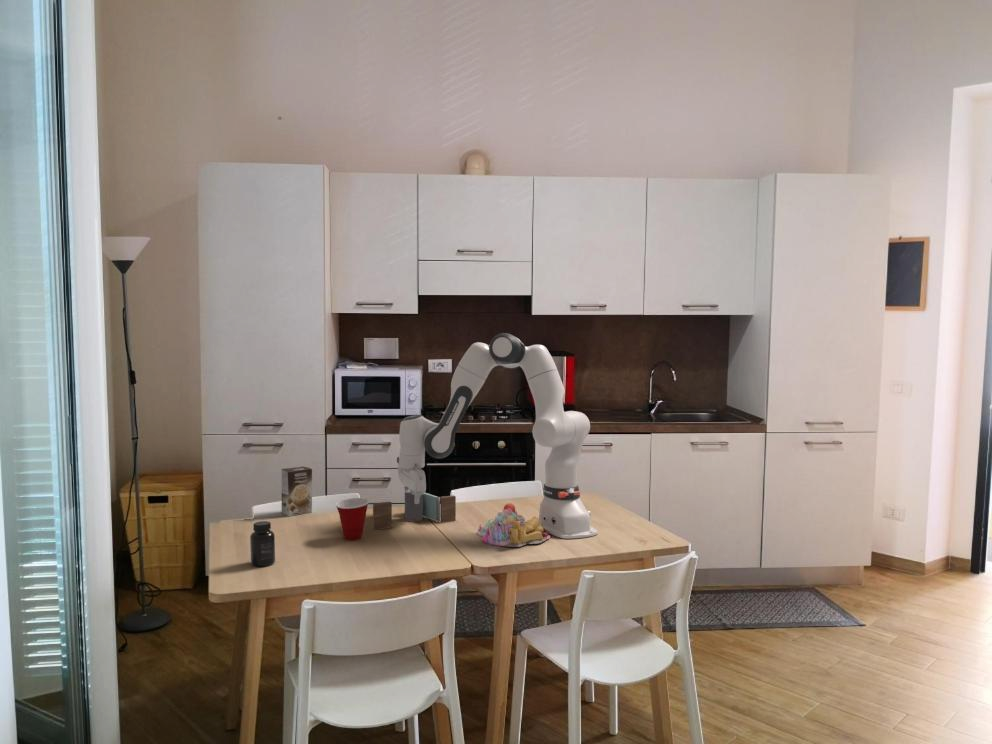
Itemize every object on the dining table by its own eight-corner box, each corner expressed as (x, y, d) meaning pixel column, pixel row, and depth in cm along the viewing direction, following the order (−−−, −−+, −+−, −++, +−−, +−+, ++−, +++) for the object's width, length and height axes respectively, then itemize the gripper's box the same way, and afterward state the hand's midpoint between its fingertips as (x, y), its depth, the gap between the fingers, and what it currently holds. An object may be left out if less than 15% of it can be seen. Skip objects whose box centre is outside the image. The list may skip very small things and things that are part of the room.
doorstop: (422, 520, 281) (422, 494, 280) (405, 520, 280) (405, 495, 279) (421, 517, 285) (421, 492, 284) (404, 517, 284) (404, 492, 283)
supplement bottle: (277, 559, 237) (277, 519, 236) (272, 567, 230) (271, 526, 229) (254, 559, 237) (253, 519, 236) (247, 567, 230) (247, 526, 229)
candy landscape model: (564, 538, 262) (564, 510, 262) (515, 554, 246) (515, 524, 245) (508, 522, 280) (508, 496, 279) (458, 536, 263) (459, 508, 262)
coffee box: (289, 516, 283) (288, 472, 282) (281, 513, 288) (280, 468, 287) (312, 512, 289) (312, 468, 288) (304, 509, 294) (304, 465, 292)
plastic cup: (332, 534, 262) (331, 498, 261) (365, 531, 266) (364, 495, 265) (338, 544, 252) (338, 506, 251) (372, 540, 256) (372, 503, 255)
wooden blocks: (455, 520, 280) (455, 496, 280) (374, 529, 269) (374, 504, 268) (453, 519, 282) (454, 495, 281) (373, 528, 270) (373, 503, 269)
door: (438, 521, 278) (438, 498, 277) (409, 511, 291) (409, 489, 290) (440, 520, 279) (440, 497, 278) (411, 510, 291) (411, 488, 290)
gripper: (430, 466, 273) (430, 506, 274) (411, 455, 292) (411, 493, 293) (412, 467, 270) (412, 508, 272) (395, 456, 289) (395, 494, 290)
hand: (412, 500), depth 282 cm, fingers open, 8 cm apart
